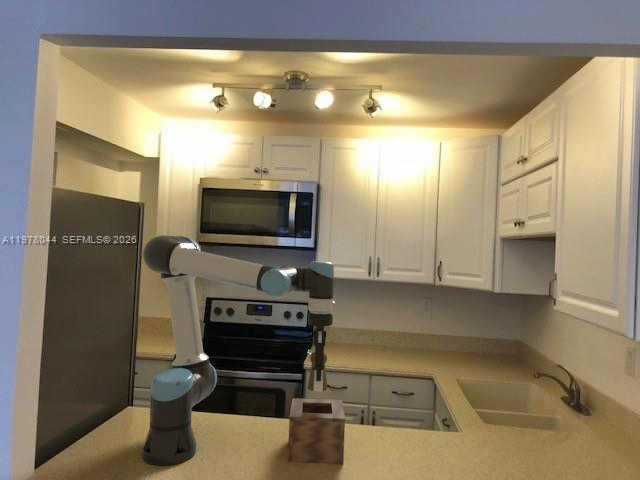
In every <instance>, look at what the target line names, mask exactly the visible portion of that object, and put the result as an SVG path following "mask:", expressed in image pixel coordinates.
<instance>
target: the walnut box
mask: <svg viewBox="0 0 640 480" xmlns="http://www.w3.org/2000/svg"><path fill="white" fill-rule="evenodd" d="M343 403H344V402H343V399H329V398H326V399H325V398H323V399H322V398H297V397H296V398H292V400H291V406H290V411H289V422H288V424H289V425H288V447H287V448H288V449H287V451H288V453H287V463H297V464H299V463H300V464H302V463H303V464H304V463H305V464H329V465H330V464H331V465H332V464H333V465H344V462H345V461H344V460H345V459H344V456H345V455H344V454H345V453H344V452H345V431H346V430H345V427H346V418H345V410H344V406H343Z"/></svg>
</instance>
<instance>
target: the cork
mask: <svg viewBox="0 0 640 480" xmlns="http://www.w3.org/2000/svg"><path fill="white" fill-rule="evenodd" d="M309 359H310V363H311V366H310V372H309V377H308V383H307V390H309V391H313V392H315V391H314V370H312V368H314V366H315V351H313V352H312V353H311V354H310V357H309ZM327 361H328V356H327V354H326V353H325V352H324V359H323V367H324V368H323V392H325V391H327V390H328V381H327V380H328V379H327V372H326V371H327V369H326V368H327V367H326V363H327Z"/></svg>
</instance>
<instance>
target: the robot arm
mask: <svg viewBox="0 0 640 480" xmlns="http://www.w3.org/2000/svg"><path fill="white" fill-rule="evenodd" d="M142 258H143V261H144V264H145V265H146V267H147V268H149V269H150V270H151V271H153V272H156V273H159V274H160V277H161V281H163V282H164V283H165V284H166V285H167V294H168V302H169V310H170V311H169V312H170V319H171V326H172V334H173V343H174V350H175V359H174V360H173V361H172V363H171V367H172V368H169V369H168V370H167V369H165V370H162V371H160V372H159V373H158V372H157V374H155V375H154V376H153V378H152V380H151V387H150V392H149V393H150V407H149V409H150V410H149V430H148V432H147V434H146V438H145V440H144V443H143V444H142V445H143V446H142V449H141V450H142V451H141V458H142V460H143V461H144V462H146V463H148V464H149V465H150V464H151V465H153V466H171V465H177V464H180V463H181V464H182V463H185V462H186V461H188V460H190V459H191V458H193V457H194V456H195V455H196V454H197V441H196V438H195V437H196V436H195V434H194V431H193V430H194V429H193V426H192V412H193V410H192V409H193V407H195V406H196V405H197V404H199V403H200V402H201V401H203V400H205V399H206V398H207V397H209V396H210V394H211V393H212V392H213V391H214V390H215V388H216V385H217V383H218V376H217V375H218V374H217V371H216V368H215V367H214V366H213V365H212V364H211V362H210V357H209V355H207V354H206V353H205V352H204V348H203V347H204V346H203V339H202V332H201V325H200V316H199V308H198V300H197V293H196V283H195V280H196V278H201V279H205V280H210V281H215V282H219V283H224V284H227V285H231V286H237V287H242V288H246V289H251V290H255V291H258V292H262V293H264V294H266V295H268V296H270V297H281V296H284V295H286V294H287V293H288V294H289V293H291V292H305V293H306V292H307V293H308V303H307V304H308V306H307V308H308V311H309V312H308V314H307V324H308V325H309V326H312V327H315V329H313V346H314V347H315V348H314V349H315V351H314V352H315V366H314V368H312V370H314V391H313V392H320V393H321V392H324V391H323V368H324V367H323V359H324V353H325V347H326V338H327V330H325V327H330V326H332V325H333V320H334V319H333V318H334V317H333V316H334V315H333V313H332V312H333V310H334V306H333V305H335V304H336V301H334V291H335V290H334V288H335V285H334V284H335V271H334V270H335V269H334V268H335V266H334V263H333V262H331V261H315V260H313V261H311V262H310V263H309V266H308V267H300V266H285V265H283V266H282V265H281V266H280V265H279V266H269V265H266V264H265V265H264V264H260V263H256V262H251V261H247V260H242V259H237V258H233V257H228V256H223V255H220V254H214V253H210V252H206V251H201V247H200V246H199V244H198V243H197V242H196V241H195V240H194V239H192V238H190V237H188V236H187V237H186V236H182V235H158V236H155V237H154V236H153V238H151V239H150V240H149V241H148V242H147V243H146V244H145V246H144V248H143V252H142Z"/></svg>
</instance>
